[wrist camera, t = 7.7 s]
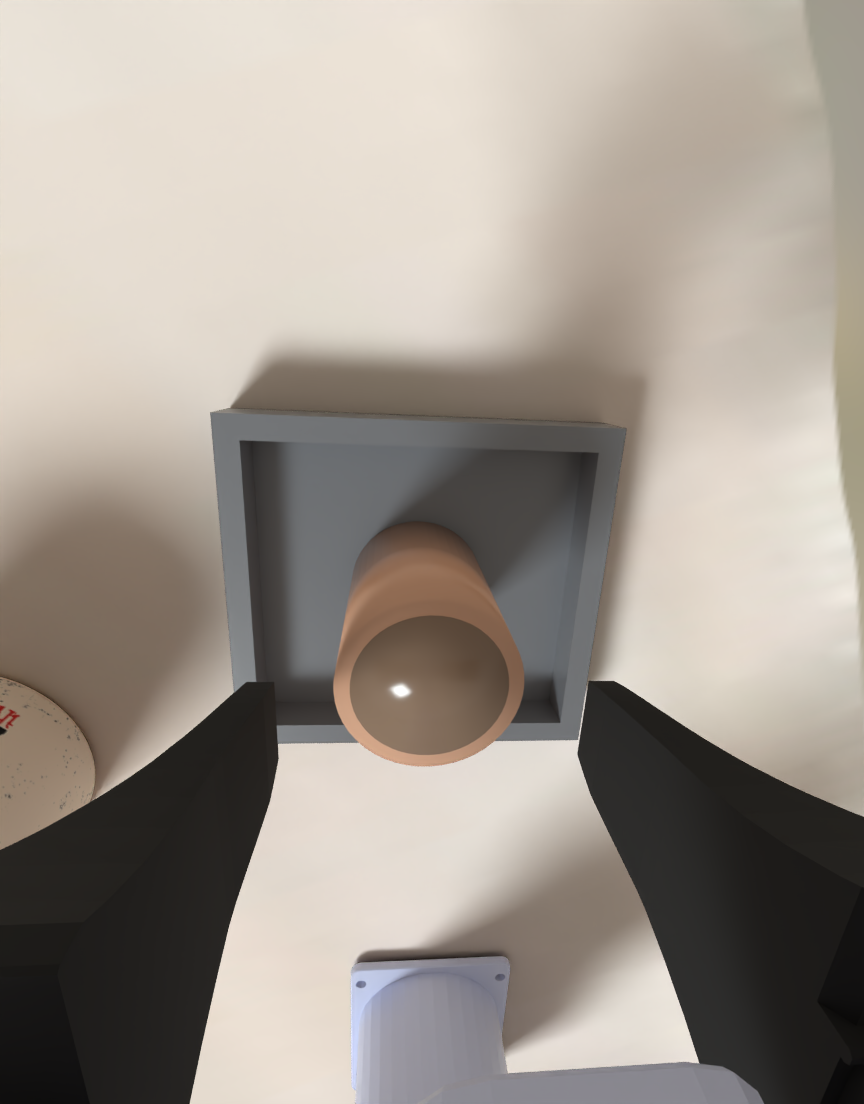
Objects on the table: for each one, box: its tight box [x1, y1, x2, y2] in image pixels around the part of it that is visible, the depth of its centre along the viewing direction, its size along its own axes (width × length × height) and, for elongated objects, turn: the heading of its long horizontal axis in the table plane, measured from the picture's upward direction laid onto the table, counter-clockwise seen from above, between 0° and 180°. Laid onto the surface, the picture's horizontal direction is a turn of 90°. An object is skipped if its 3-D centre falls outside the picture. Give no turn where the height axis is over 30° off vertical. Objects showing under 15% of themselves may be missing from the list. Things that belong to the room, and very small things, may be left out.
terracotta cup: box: [333, 521, 524, 766], centre depth 17 cm, size 5×5×7 cm
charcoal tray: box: [210, 408, 626, 744], centre depth 20 cm, size 12×13×2 cm
